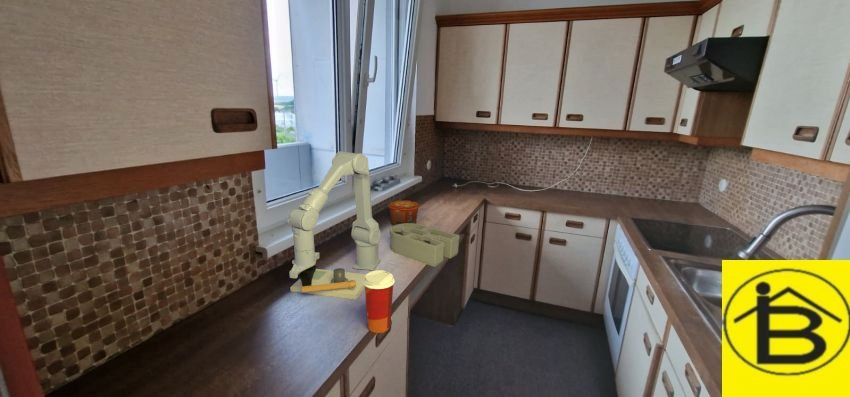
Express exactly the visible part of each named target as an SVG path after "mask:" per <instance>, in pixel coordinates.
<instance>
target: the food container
mask: <svg viewBox="0 0 850 397" xmlns="http://www.w3.org/2000/svg"><path fill="white" fill-rule="evenodd" d="M387 207H388V210H389V218H390V225H392V226H395V225H398V224H404V223H413V224H417V218H418V211H419V209H420V204H419V203H418V202H417V201H412V200H402V199H401V200H400V199H399V200H395V201H391V202H389V203H388V205H387Z"/></svg>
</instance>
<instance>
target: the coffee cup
mask: <svg viewBox="0 0 850 397" xmlns="http://www.w3.org/2000/svg"><path fill="white" fill-rule="evenodd" d="M395 282H396V281H395V278H394V275H393V274H392V273H390V272H389V271H385V270H380V269H379V270H371V271H369V272H367V273H366V276H365V279H364V280H363V284H364V285H365V288H364V293H365V308H366V310H365V311H366V319H367V320H366V321H367V327H368V331H370V333H373V334H383V333H386V332H388V331H389V330H390V328H391V320H392V319H391V318H392V311H393V310H392V308H393V307H392V306H393V294H394V293H393V292H394V291H393V290H394V284H395Z"/></svg>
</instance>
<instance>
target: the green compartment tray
mask: <svg viewBox="0 0 850 397" xmlns="http://www.w3.org/2000/svg"><path fill="white" fill-rule="evenodd" d="M389 235H390V236H389V237H390V244H389V245H390V250H391V251H392V252H393V253H394V254H397V255H400V256H403V257H405V258H409V259H411V260H414V261H416V260H417V262H420V263H422V264H425V263H426V264H425V265H427V266H431V267H433V268H436V267H438V266H439V265H442V264H443V262H444V257H445V258H448V259H452V258H454V257H456V256H457V255H458V253H459V242H460V241H459V240H460V235H459V234H457V233H452V232H448V231H445V230H442V229H439V228H434V227H431V226H427V225H423V224H420V223H416V224H413V223H404V224H398V225H395V226H393V225H392V226H391V227H390V229H389Z"/></svg>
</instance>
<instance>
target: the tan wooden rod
mask: <svg viewBox="0 0 850 397" xmlns="http://www.w3.org/2000/svg"><path fill="white" fill-rule="evenodd" d="M346 287H349V288H354V287H356V281H355V280H350V281H348V282H340V283H330V284H321V285H311V286H302V292H309V291H318V290H327V289H336V288H346Z"/></svg>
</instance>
